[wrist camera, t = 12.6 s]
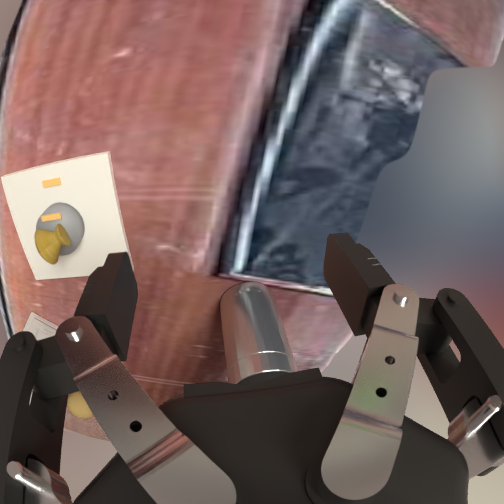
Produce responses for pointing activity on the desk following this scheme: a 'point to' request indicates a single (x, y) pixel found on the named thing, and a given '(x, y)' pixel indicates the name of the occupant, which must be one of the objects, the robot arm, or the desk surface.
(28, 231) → the hub plate
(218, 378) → the desk surface
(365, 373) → the robot arm
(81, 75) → the desk surface
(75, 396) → the light bulb
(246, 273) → the desk surface
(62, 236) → the knob
